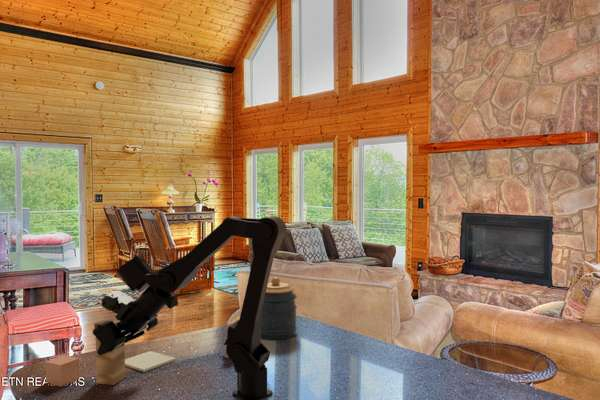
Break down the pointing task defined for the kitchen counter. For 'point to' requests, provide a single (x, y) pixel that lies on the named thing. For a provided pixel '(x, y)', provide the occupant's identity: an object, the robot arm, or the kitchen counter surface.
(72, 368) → the terracotta block
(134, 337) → the robot arm
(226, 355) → the rook chess piece
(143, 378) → the kitchen counter surface
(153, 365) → the pad
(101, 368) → the brown block
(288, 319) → the canister
